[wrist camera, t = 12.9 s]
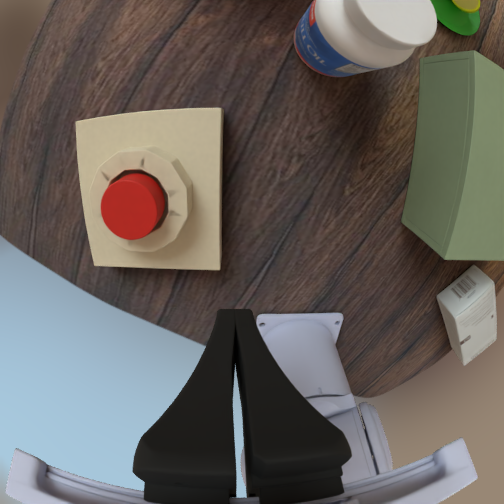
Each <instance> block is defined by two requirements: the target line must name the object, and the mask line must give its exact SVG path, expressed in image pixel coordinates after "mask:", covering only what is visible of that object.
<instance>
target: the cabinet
mask: <svg viewBox="0 0 504 504" xmlns="http://www.w3.org/2000/svg"><path fill="white" fill-rule="evenodd" d="M401 223H403V224H404V225H405V226H406V227H408V228H409V229H410V230H411V231H412V232H414V233H415V234H416V235H417V236H418V237H419V238H421V239H422V240H423V241H424V242H425V243H426V244H428V245H429V246H430V247H431V248H432V249H433V250H434V251H436V252H437V253H438V254H439V255H440V256H441V257H442V258H443V259H444V260H504V70H503V69H502V68H501V67H499V66H498V65H496V64H495V63H493V62H492V61H490V60H489V59H487V58H486V57H484V56H483V55H481V54H479V53H478V52H476V51H465V52H456V53H449V54H442V55H436V56H430V57H424V58H420V81H419V102H418V116H417V126H416V136H415V144H414V152H413V159H412V166H411V172H410V178H409V184H408V189H407V195H406V200H405V205H404V209H403V214H402V219H401Z"/></svg>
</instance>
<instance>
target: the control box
mask: <svg viewBox="0 0 504 504" xmlns="http://www.w3.org/2000/svg"><path fill="white" fill-rule="evenodd" d="M223 121H224V109H222V108H189V109H169V110H155V111H144V112H135V113H126V114H118V115H111V116H104V117H98V118H92V119H86V120H81V121H76V141H77V156H78V168H79V178H80V187H81V195H82V202H83V209H84V215H85V221H86V227H87V232H88V238H89V243H90V248H91V252H92V257H93V261H94V265H95V266H111V267H134V268H161V269H193V270H220V267H221V259H222V160H223ZM134 173H139V174H144V175H146V176H149V177H150V178H152V179H153V180H154V181H155V182H156V183H157V184H158V185H159V186H160V188H161V190H162V192H163V195H164V199H165V208H164V212H163V215H162V217H161V218H160V220H159V221H158V223H157V224H156V226H155V227H154V228H153V230H152V231H151V232H150V233H149V234H148V235H146V236H145V237H143V238H140V239H136V240H127V239H123V238H120V237H118V236H117V235H115V234H114V233H112V232H111V231H110V230H109V229H108V227H107V226H106V224H105V223H104V221H103V218H102V215H101V199H102V196H103V194H104V192H105V191H106V189H107V188H108V187H109V186H110V185H111V184H113V183H114V182H116V181H117V180H119V179H121V178H122V177H124V176H126V175H129V174H134Z"/></svg>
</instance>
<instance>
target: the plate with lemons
mask: <svg viewBox="0 0 504 504" xmlns="http://www.w3.org/2000/svg"><path fill="white" fill-rule="evenodd" d="M430 1H431V3H432V5H433V7H434V9H435V13H436V17H437V19H438V20H439V21H440V22H441V23H443V24H444V25H445V26H446V27H448V28H449V29H451V30H452V31H454V32H456V33H459V34H461V35H473V34H474V33H476V32H477V30H478V29H479V25H480V15H479V8H480V0H430Z"/></svg>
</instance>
